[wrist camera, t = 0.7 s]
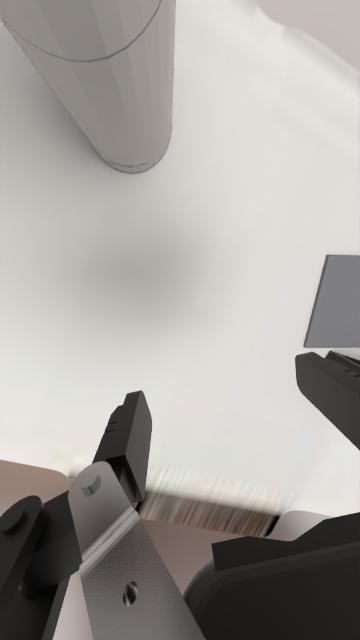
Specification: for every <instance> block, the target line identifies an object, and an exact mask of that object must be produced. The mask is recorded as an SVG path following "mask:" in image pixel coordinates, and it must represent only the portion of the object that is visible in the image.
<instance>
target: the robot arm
mask: <svg viewBox="0 0 360 640" xmlns="http://www.w3.org/2000/svg"><path fill="white" fill-rule="evenodd" d="M175 6H176V0H0V19H1V21H2V22H3V24H4V25H5V26H6V28H7V29H8V30H9V32H10V33H11V35H12V36H13V37H14V39H15V40H16V42H17V43H18V44H19V46H20V47H21V48H22V50H23V51H24V53H25V54H26V55H27V57H28V58H29V59H30V61H31V62H32V64H33V65H34V66H35V68H36V69H37V70H38V72H39V73H40V75H41V76H42V77H43V79H44V80H45V81H46V83H47V84H48V86H49V87H50V88H51V90H52V91H53V92H54V94H55V95H56V97H57V98H58V99H59V101H60V102H61V103H62V105H63V106H64V108H65V109H66V110H67V112H68V113H69V114H70V116H71V117H72V119H73V120H74V121H75V123H76V124H77V126H78V127H79V128H80V130H81V131H82V132H83V134H84V135H85V137H86V138H87V139H88V141H89V142H90V143H91V145H92V146H93V148H94V149H95V150H96V152H97V153H98V154H99V156H100V157H101V158H102V159H103V160H104V161H105V162H106V163H108V164H109V165H110V166H112V167H113V168H115V169H117V170H120V171H122V172H127V173H139V172H143V171H145V170H148V169H150V168H151V167H153V166H154V165H155V164H156V163H157V162H158V161H159V160H160V159H161V158H162V156H163V155H164V153H165V151H166V149H167V147H168V144H169V141H170V136H171V130H172V104H173V73H174V40H175ZM295 364H296V379H297V385H298V387H299V389H300V391H301V393H302V394H303V395H304V396H305V397H306V398H307V399H308V400H309V401H310V402H311V403H312V404H313V405H314V406H315V407H316V408H317V409H318V410H319V411H320V412H321V413H322V414H323V415H324V416H325V417H326V418H327V419H328V420H329V421H330V422H331V423H333V424H334V425H335V426H336V427H337V428H338V429H339V430H340V431H341V432H342V433H343V434H344V435H345V436H346V437H347V438H348V439H349V440H350V441H351V442H352V443H353V444H354V445H355V446H356V447H357V448H358V449H359V450H360V374H358V373H356V372H355V371H351V369H350V368H348V367H346V366H344V365H343V364H341V363H338V362H335V361H332V360H329V359H324V358H323V357H321V356H319V355H318V354H316V353H314V352H309V353H305V354H300V355H297V356H296V357H295ZM151 432H152V418H151V414H150V411H149V408H148V405H147V402H146V399H145V396H144V393H143V391H142V390H141V391H136V392H132V393H128V394H127V395H126V398H125V401H124V404H123V405H121V406H118V407H117V408H116V409H115V411H114V412H113V413H112V414H111V416H110V419H109V421H108V425H107V427H106V429H105V433H104V434H103V437H102V439H101V442H100V444H99V447H98V450H97V452H96V455H95V457H94V460H93V462H92V464H91V465H89V466H88V467H86V468H85V469H84V470H83V471H81V472H80V473H79V474H78V476H77V477H76V478H75V480H74V481H73V483H72V485H71V487H70V489H69V490H68V491H66V492H64V493H63V494H61V495H59V496H57V497H55V498H53V499H52V500H50V501H48V502H46V503H44V504H43V502H42V501H41V499H40V498H39V497H38V496H28V497H26V498H24V499H22V500H20V501H18V502H17V503H15V504H14V505H13V506H11V507H10V508H9V509H8V510H7V511H6V512H5V513H4V514H3V515H2V516H1V517H0V640H52V639H53V636H54V632H55V628H56V625H57V621H58V618H59V614H60V611H61V607H62V604H63V600H64V597H65V593H66V590H67V586H68V583H69V579H70V576H71V575H72V574H74V573H75V572H76V571H78V570H80V577H81V582H82V587H83V592H84V596H85V601H86V606H87V611H88V616H89V620H90V625H91V629H92V634H93V639H94V640H360V512H358V513H354V514H349V515H344V516H340V517H335V518H330V519H325V520H323V521H321V522H320V523H319V524H317V525H316V526H314V527H313V528H311V529H310V530H308V531H307V532H306V533H304V534H303V535H301V536H300V537H298V538H297V539H296V540H294V541H280V540H273V539H266V538H259V537H251V536H245V537H241V538H236V539H231V540H227V541H222V542H218V543H213V544H212V551H213V557H214V559H213V560H211V561H210V562H208V563H207V564H206V565H205V566H204V567H203V568H202V569H201V570H199V572H198V573H197V574H196V575H195V576H194V578H193V579H192V580H191V582H190V584H189V585H188V587H187V588H186V590H185V592H184V594H183V596H182V595H181V593H180V591H179V589H178V587H177V586H176V584H175V582H174V580H173V578H172V576H171V574H170V573H169V571H168V569H167V567H166V565H165V563H164V562H163V560H162V558H161V556H160V554H159V553H158V550H157V549H156V547H155V545H154V543H153V541H152V540H151V538H150V536H149V534H148V532H147V530H146V529H145V527H144V525H143V523H142V521H141V519H140V517H139V516H138V514H137V512H136V510H135V509H133V508H134V502H139V501H144V495H145V486H146V477H147V468H148V459H149V450H150V441H151Z"/></svg>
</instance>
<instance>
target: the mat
mask: <svg viewBox="0 0 360 640" xmlns="http://www.w3.org/2000/svg"><path fill="white" fill-rule="evenodd" d="M304 347H305V348H350V347H360V256H341V255H327V257H326V261H325V265H324V269H323V273H322V277H321V281H320V285H319V288H318V292H317V296H316V300H315V304H314V308H313V312H312V316H311V320H310V324H309V328H308V331H307V335H306V339H305V343H304Z"/></svg>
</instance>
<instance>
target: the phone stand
mask: <svg viewBox="0 0 360 640" xmlns="http://www.w3.org/2000/svg"><path fill="white" fill-rule="evenodd" d="M326 359H329V360H332V361H335V362H338V363H341V364H343V365H344V366H346V367H348V368H350V369H351V371H355V372H356V373H358V374H360V360H357V359H354V358H351V357H347V356H344V355H341V354H338V353H335V352H332V351H330V353H329V354H328V356H327V357H326Z"/></svg>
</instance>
